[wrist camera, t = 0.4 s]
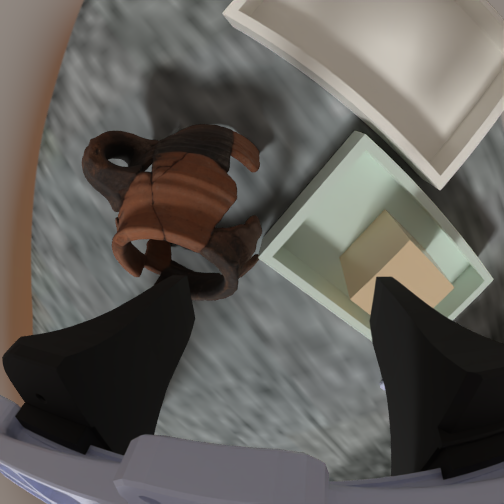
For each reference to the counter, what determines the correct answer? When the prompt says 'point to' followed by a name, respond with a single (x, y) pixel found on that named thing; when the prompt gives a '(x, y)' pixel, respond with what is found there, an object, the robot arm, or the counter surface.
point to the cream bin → (396, 67)
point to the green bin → (356, 222)
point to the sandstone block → (391, 264)
